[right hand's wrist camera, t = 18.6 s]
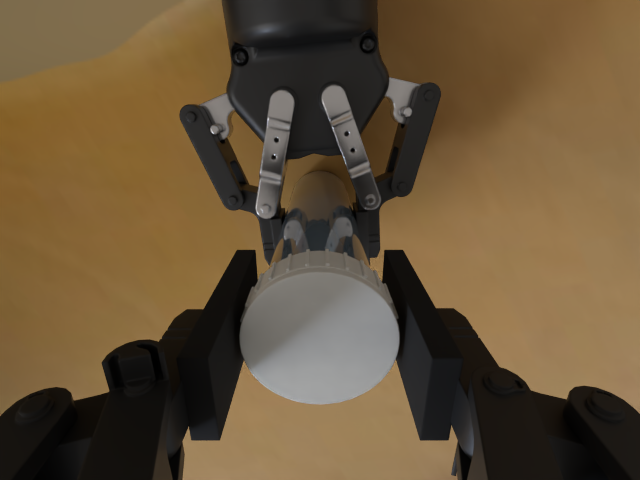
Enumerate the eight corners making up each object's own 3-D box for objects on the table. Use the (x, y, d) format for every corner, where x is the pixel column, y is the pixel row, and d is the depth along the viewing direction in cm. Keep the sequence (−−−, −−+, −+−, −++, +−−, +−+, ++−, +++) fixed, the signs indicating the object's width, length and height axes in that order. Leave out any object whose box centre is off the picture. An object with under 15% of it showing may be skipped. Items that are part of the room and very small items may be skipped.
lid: (225, 269, 12) (211, 294, 10) (375, 230, 11) (384, 250, 10) (273, 383, 13) (267, 419, 12) (404, 354, 13) (415, 388, 11)
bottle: (342, 228, 28) (371, 386, 12) (289, 221, 28) (249, 372, 12) (352, 175, 26) (399, 279, 11) (295, 166, 26) (259, 260, 11)
